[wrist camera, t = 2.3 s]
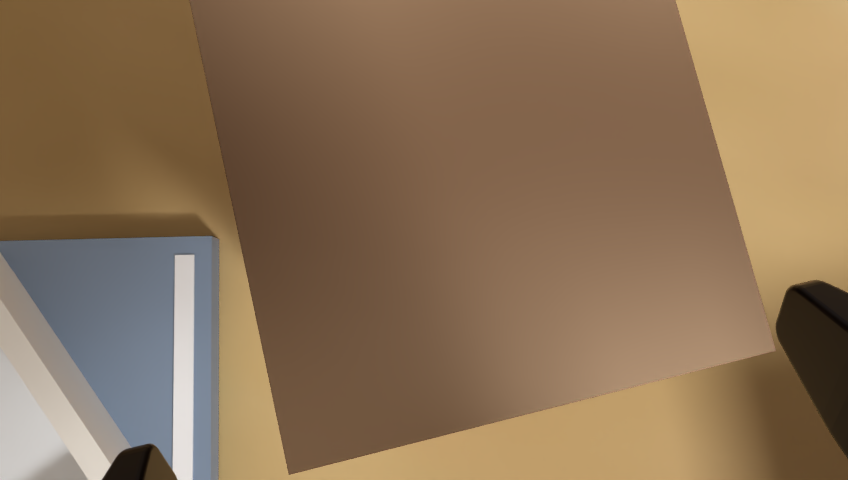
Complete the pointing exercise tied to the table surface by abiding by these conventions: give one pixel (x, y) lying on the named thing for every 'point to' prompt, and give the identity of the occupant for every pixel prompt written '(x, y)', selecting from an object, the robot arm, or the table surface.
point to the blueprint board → (108, 355)
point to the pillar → (471, 210)
